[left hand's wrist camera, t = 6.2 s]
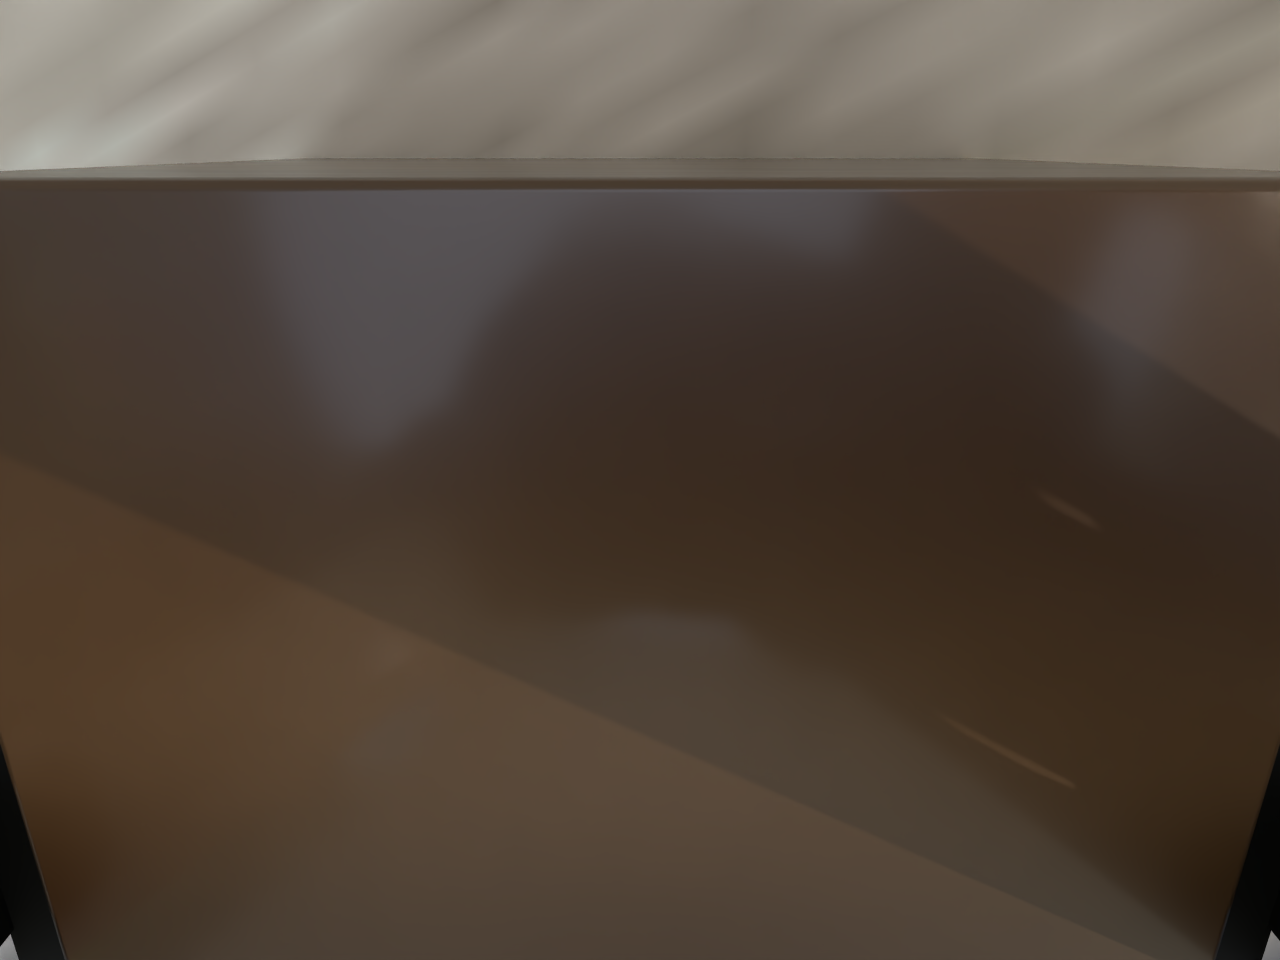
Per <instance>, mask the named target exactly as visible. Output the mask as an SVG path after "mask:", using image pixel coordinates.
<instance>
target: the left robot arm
mask: <svg viewBox="0 0 1280 960" xmlns="http://www.w3.org/2000/svg"><path fill="white" fill-rule="evenodd" d="M1271 930H1272V932H1273V933H1274V934H1275V935H1276V937H1277V938H1278V939H1279V940H1280V745H1279V749H1278V752H1277V755H1276V759H1275V762H1274V765H1273V769H1272V772H1271V775H1270V779H1269V782H1268V785H1267V789H1266V792H1265V796H1264V799H1263V802H1262V806H1261V809H1260V812H1259V816H1258V819H1257V822H1256V826H1255V829H1254V832H1253V836H1252V839H1251V842H1250V846H1249V849H1248V852H1247V856H1246V859H1245V862H1244V866H1243V869H1242V872H1241V876H1240V879H1239V882H1238V886H1237V889H1236V893H1235V896H1234V899H1233V903H1232V906H1231V909H1230V913H1229V916H1228V919H1227V923H1226V926H1225V929H1224V933H1223V936H1222V939H1221V943H1220V946H1219V949H1218V953H1217V956H1216V959H1215V960H1262V957H1263V954H1264V951H1265V948H1266V945H1267V942H1268V939H1269V936H1270V932H1271ZM10 934H11V936H12V940H13V943H14V946H15V949H16V952H17V955H18V958H19V960H65V959H64V955H63V952H62V949H61V945H60V942H59V939H58V935H57V932H56V929H55V925H54V922H53V918H52V915H51V912H50V908H49V905H48V902H47V898H46V895H45V892H44V888H43V885H42V882H41V878H40V875H39V872H38V868H37V865H36V862H35V858H34V855H33V852H32V848H31V845H30V842H29V838H28V835H27V832H26V828H25V825H24V821H23V818H22V815H21V811H20V808H19V805H18V801H17V798H16V795H15V791H14V788H13V785H12V781H11V778H10V775H9V771H8V768H7V765H6V761H5V758H4V755H3V751H2V748H1V745H0V946H1V945H2V944H3V943H4V941H5V940H6V939H7V937H8V936H9V935H10Z"/></svg>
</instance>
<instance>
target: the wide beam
mask: <svg viewBox="0 0 1280 960" xmlns="http://www.w3.org/2000/svg"><path fill="white" fill-rule="evenodd" d="M0 745H1V748H2V751H3V755H4V758H5V761H6V765H7V768H8V771H9V775H10V778H11V781H12V785H13V788H14V791H15V795H16V798H17V801H18V805H19V808H20V811H21V815H22V818H23V821H24V825H25V828H26V832H27V835H28V838H29V842H30V845H31V848H32V852H33V855H34V858H35V862H36V865H37V868H38V872H39V875H40V878H41V882H42V885H43V888H44V892H45V895H46V898H47V902H48V905H49V908H50V912H51V915H52V918H53V922H54V925H55V929H56V932H57V935H58V939H59V942H60V945H61V949H62V952H63V955H64V959H65V960H1215V959H1216V956H1217V953H1218V949H1219V946H1220V943H1221V939H1222V936H1223V933H1224V929H1225V926H1226V923H1227V919H1228V916H1229V913H1230V909H1231V906H1232V903H1233V899H1234V896H1235V893H1236V889H1237V886H1238V882H1239V879H1240V876H1241V872H1242V869H1243V866H1244V862H1245V859H1246V856H1247V852H1248V849H1249V846H1250V842H1251V839H1252V836H1253V832H1254V829H1255V826H1256V822H1257V819H1258V816H1259V812H1260V809H1261V806H1262V802H1263V799H1264V796H1265V792H1266V789H1267V785H1268V782H1269V779H1270V775H1271V772H1272V769H1273V765H1274V762H1275V759H1276V755H1277V752H1278V749H1279V745H1280V171H1264V170H1240V169H1216V168H1191V167H1167V166H1143V165H1119V164H1094V163H1070V162H1046V161H1021V160H997V159H283V160H259V161H235V162H211V163H187V164H163V165H139V166H115V167H91V168H67V169H42V170H18V171H0Z"/></svg>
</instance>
